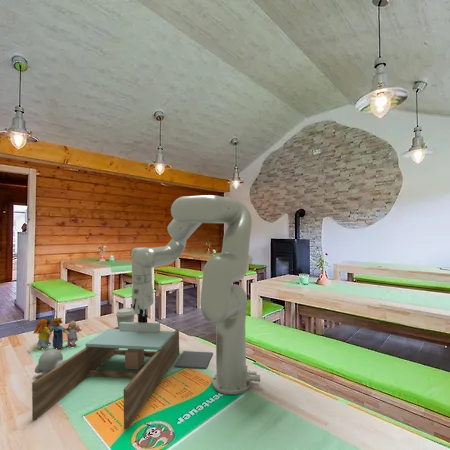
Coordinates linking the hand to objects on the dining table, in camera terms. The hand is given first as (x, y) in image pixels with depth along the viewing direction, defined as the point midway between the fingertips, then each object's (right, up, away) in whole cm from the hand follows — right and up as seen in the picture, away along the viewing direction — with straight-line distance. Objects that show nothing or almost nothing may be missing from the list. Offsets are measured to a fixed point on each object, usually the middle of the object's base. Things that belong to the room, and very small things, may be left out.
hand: (142, 325), depth 109 cm
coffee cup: (-15, -13, +22) cm, 30 cm away
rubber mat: (+21, -12, -4) cm, 24 cm away
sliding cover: (-1, -2, -9) cm, 9 cm away
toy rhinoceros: (-27, -13, -13) cm, 33 cm away
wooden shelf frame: (-2, -12, -17) cm, 21 cm away
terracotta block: (-1, -12, -7) cm, 14 cm away
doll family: (-41, -14, +9) cm, 44 cm away
